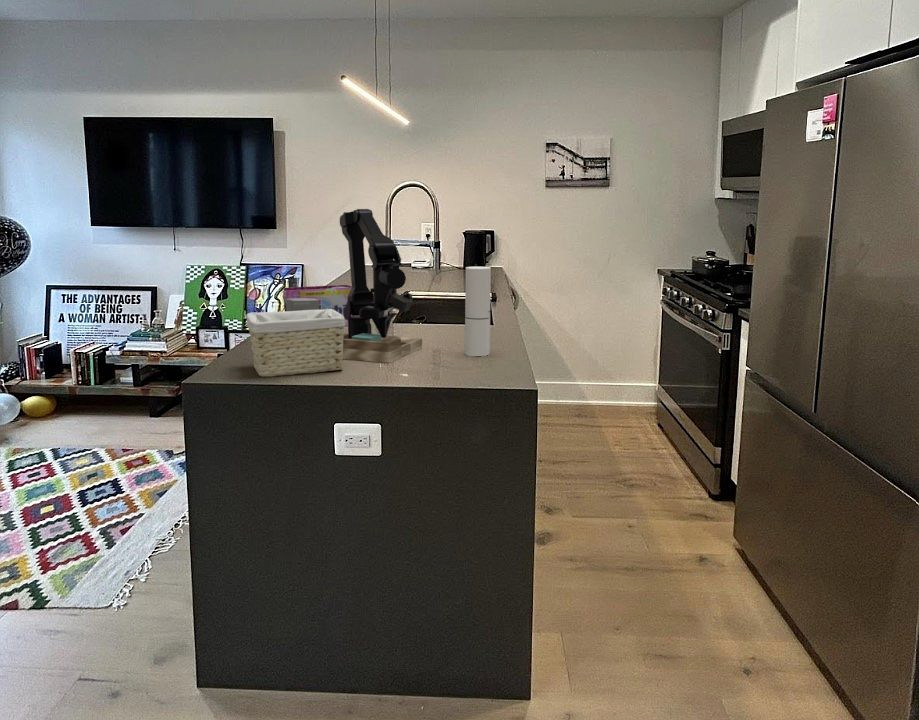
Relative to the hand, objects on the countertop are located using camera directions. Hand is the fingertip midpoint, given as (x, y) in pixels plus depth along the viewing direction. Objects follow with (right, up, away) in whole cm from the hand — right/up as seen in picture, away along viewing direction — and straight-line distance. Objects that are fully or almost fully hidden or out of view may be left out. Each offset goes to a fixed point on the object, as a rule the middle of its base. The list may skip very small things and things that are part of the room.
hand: (383, 337), depth 240 cm
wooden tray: (-1, -4, -3) cm, 5 cm away
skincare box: (-23, -5, -3) cm, 24 cm away
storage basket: (-21, -9, -23) cm, 33 cm away
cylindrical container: (+27, -5, -3) cm, 28 cm away
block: (-4, -3, -8) cm, 10 cm away
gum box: (-26, +5, +41) cm, 48 cm away
